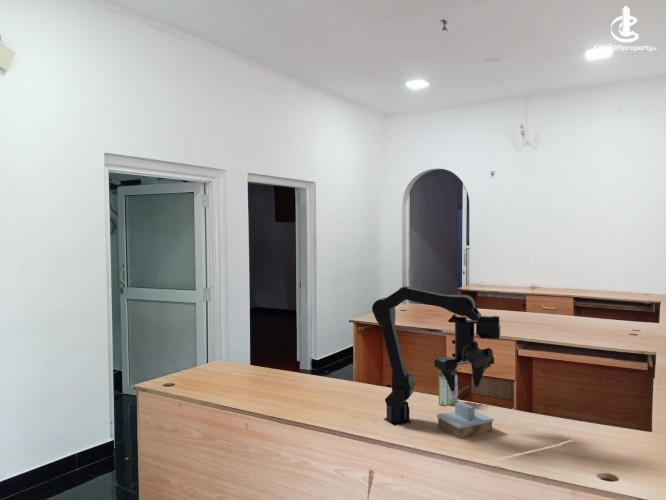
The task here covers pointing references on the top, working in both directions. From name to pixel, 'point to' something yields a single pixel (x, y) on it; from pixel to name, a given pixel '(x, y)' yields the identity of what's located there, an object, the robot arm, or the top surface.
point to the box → (465, 429)
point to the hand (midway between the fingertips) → (464, 389)
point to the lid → (464, 416)
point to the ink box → (447, 391)
